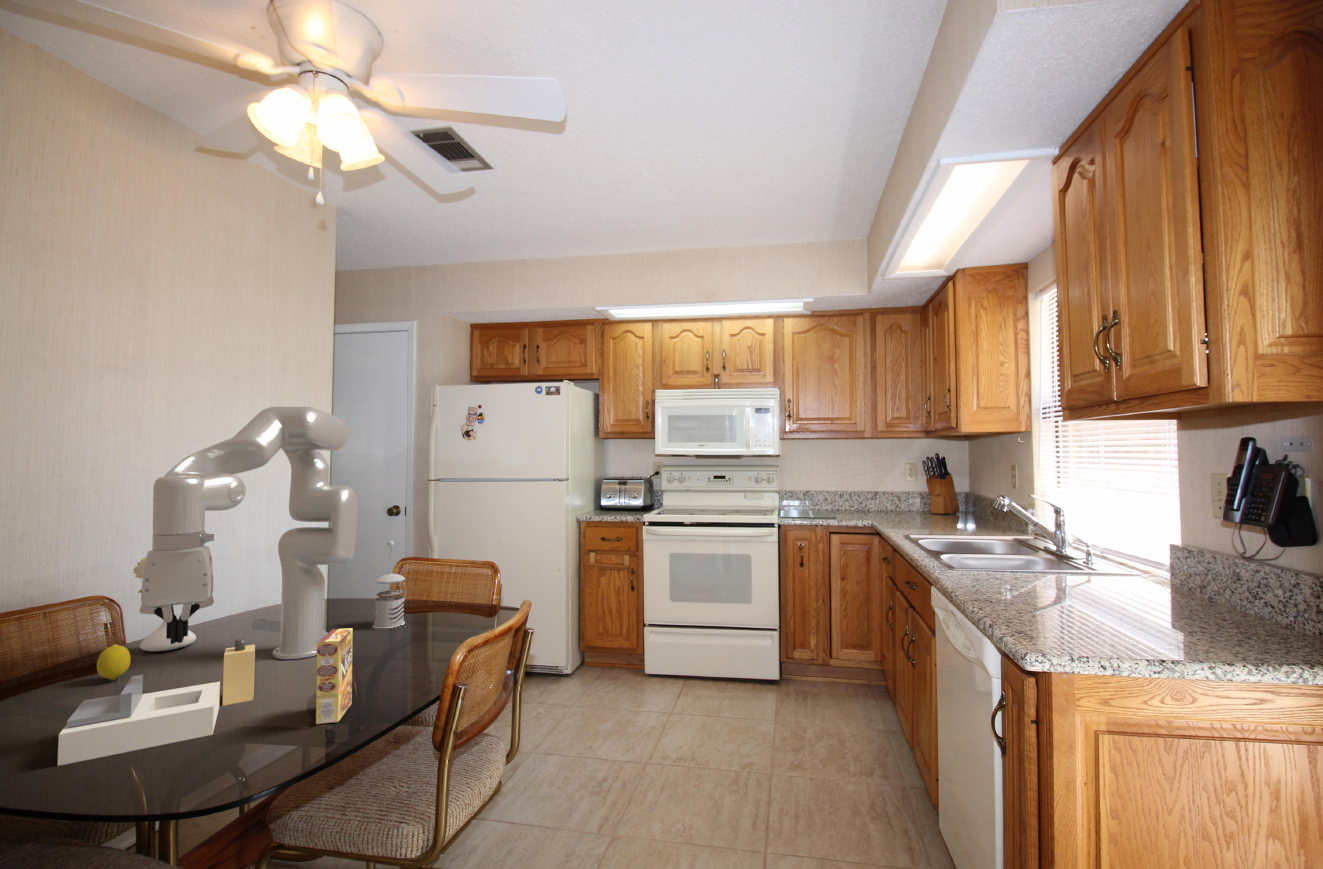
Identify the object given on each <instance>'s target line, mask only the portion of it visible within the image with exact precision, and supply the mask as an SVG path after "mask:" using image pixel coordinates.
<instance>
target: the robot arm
mask: <svg viewBox="0 0 1323 869" xmlns="http://www.w3.org/2000/svg"><path fill="white" fill-rule="evenodd" d="M348 439H349V429H348V426H347V424H346V423H345V422H344V420H343V419H342V418H340V417H338V416H335V415H333V414H331V413H328V412H326V411H324V410H321V409H319V408H315V407H310V406H270V407H267V408H264V409H262V410H261V411H259V413H257V414H256V415H255V416H254V417H253V418H252V419H251V420H249V422H247V423H246V425H245V426H243V428H241V430H239V431H238V432H237V433H236V434H235V435H234V436H232V437H231V438H228V439H226V440H223V441H220V442H218V443H215V444H213V445H210V446H208V447H206V448H203V449H200V450H198V451H196V452H194V453H191V454H190V455H188V456H186V457H185V458H183V459H181V460H180V461H178V463H177V464H175V465H174V466H173V467H172V468H171V469H169V471H168V472H167V473H165V475H164V476H161V477H158V478H157V479H156V480H155V481H154V482H153V483H154V484H153V488H152V489H153V494H152V495H153V496H152V500H153V501H152V544H151V545H152V546H151V547H152V549H151V550H148V552H147V553H146V561H145V565H144V572H143V578H142V580H141V589H142V590H141V589H140V590H141V594H140V602H141V603H140V608H139V610H138V611H139V613H140V614H141V615H143V614H146V615H156V616H157V617H159V618H160V619H162V620H164V621H165V622H166V623H167V630H166V638H167V639H170V638H171V644H174V643H176V641H177V642H178V643H182V641H183V639H184V637H185V636H188V630H189V619H190V618H191V617H192V616H193V615H194V614H195V613H196V612H197V611H198V610H201V609H205V608H208V607H210V606H213V605H214V603H215V600H214V596H213V591H214V572H213V571H214V570H213V569H214V568H213V558H212V552H211V549H210V548H211V547H210V546H206V545H205V544H207V543H209V542H214V540H215V539H214V538H215V534H214V533H208V532H206V528H205V523H206V519H205V518H206V516H205V515H206V511H209V512H210V511H212V512H213V511H218V512H219V511H221V512H222V511H228V510H232V509H234V508H235V507H237V506H238V505H240V504H241V503H242V502H243V500H244V498H246V497H245V496H246V491H247V489H246V485H245V483H244V481H243V479H242V478H240V477H239V476H237V474H242V473H246V472H249V471H252V470H255V469H258V468H261V467H263V466H266V464H268V463H269V462H270V461H271V459H273V457H274V456H275V455H276V454H277V453H278V452H279V450H280V449H282V451H283V452H284V454H285V456H286V457H287V459H288V462H289V465H290V469H291V470H290V471H291V472H290V487H289V501H288V513H289V516H290V517H291V519H292V520H294V521H298V522H303V523H305V522H306V523H331V527H328V526H327V527H320V526H316V527H315V526H314V527H313V526H309V527H308V526H307V527H303V526H302V527H295V528H292V529H289V530H287V531H286V532H284V533H283V534H282V535H281V536H280V538H279V540H278V544H277V551H278V557H279V563H280V568H281V602H280V603H281V604H280V607H281V608H280V610H281V611H280V612H281V613H280V641H279V642H280V643H279V644H280V645H279V646H278V647H276V648H274V650H273V651H272V657H273V658H275V659H278V660H299V659H305V658H311V657H314V656H317V642H319V641H320V640H321V639H322V638H323V637H325V636H326V635H327V634H328V633H329V632H328V631H326V629H325V602H326V598H325V597H326V595H325V594H326V579H325V576H324V574H323V572H322V571H321V569H320V567H319V566H325V565H329V566H330V565H333V566H335V565H336V566H337V565H343V564H346V563H348V562H350V560H352V558H353V557H354V553H355V550H356V541H357V525H358V513H359V503H358V502H359V501H358V497H357V494H356V492H355V490H354V489H353V488H352V487H350V486H348V485H340V484H337V485H335V484H333V485H332V484H331V485H330V484H329V479H330V478H329V475H330V466H329V463H328V462H327V461H328V460H327V459H326V458H325V457H324V455H323V454H322V452H321V451H325V452H327V451H330V452H332V451H337V450H338V451H339V450H341V449H342V448H343V447H344V446H345V445H346V444H347V443H348V442H347V441H348ZM173 605H176V606H178V605H182V609H181V614H180V615H179V617H178V618H177V615H176V612H175V613H174V608H173Z"/></svg>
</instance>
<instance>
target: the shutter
mask: <svg viewBox="0 0 1323 869" xmlns="http://www.w3.org/2000/svg"><path fill="white" fill-rule="evenodd" d="M143 680H144V674H138V675H133V676H131V677H130V679H129V680H128V682H127V683H126V684H125V686H124V688H123V689H122V691H121V692H120V694H115V695H110V696H105V697H104V696H103V697H97V698H91V699H90V698H89V699H84V700H83V701H82V702H81V703H80V704H79V705H78V707H77V709H75V710H74V712H73V713H72V714H71V716H70V717H69V718H68V719H67V721H66V725H67V728H68V727H73V726H79V725H84V724H90V723H96V722H101V721H107V720H113V719H118V718H124V717H129V716H131V715H132V714H133V712H134V710H135V708H136V706H137V705H138V703H139V701H140V699H141V698H142V694H143V688H144V687H143V685H144V684H143V683H144V682H143Z"/></svg>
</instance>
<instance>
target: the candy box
mask: <svg viewBox="0 0 1323 869" xmlns="http://www.w3.org/2000/svg"><path fill="white" fill-rule="evenodd" d="M353 631H354V630H353V627H352V628H351V627H350V628H349V627H348V628H335V629H334V628H333V629H331V630H330V631H329V632H328V634H327V635H326V636H325V637H323V638H322V639H321V640H320V641H319V642H317V655H316V688H315V689H316V694H315V695H316V702H315V703H316V704H315V705H316V706H315V707H316V708H315V724H316V725H320V724H329V723H330V724H332V723H338V722H339V721H340V720H341V719H342V717H343V716H344V715H345V714H346V712H347V711H348V709H349V708H350V707H351V705H352V702H353V701H352V700H353V691H352V690H353V687H352V686H353V634H354V632H353Z"/></svg>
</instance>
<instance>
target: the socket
mask: <svg viewBox="0 0 1323 869" xmlns="http://www.w3.org/2000/svg"><path fill="white" fill-rule="evenodd" d="M220 691H221V681H215V682H210V683H203V684H197V685H196V684H195V685H190V686H185V687H179V688H173V689H166V690H160V691H155V692H154V691H153V692H148V693H142V698H141V699H140V701H139V703H138V705H137V706H136V708H135V710H134V712H133V714H132V715H131V716H129V717H124V718H118V719H113V720H107V721H101V722H96V723H90V724H84V725H79V726H73V727H68V728H67V724H66V725H65V726H64V727H63V728H62V730H61V731H60V733H58V745H57V746H58V748H57V767H59V766H60V767H61V766H64V765H69V764H74V763H79V762H83V761H89V760H95V759H98V758H104V757H109V756H114V755H119V754H124V753H128V752H129V753H130V752H134V751H139V750H144V749H147V748H153V747H154V748H155V747H158V746H163V745H167V744H169V745H170V744H172V743H177V742H183V741H188V740H193V739H197V738H198V739H199V738H203V737H207V736H213V734H214V730H215V726H216V722H217V719H218V714H219V710H220V698H221V697H220V695H221V694H220V693H221V692H220Z"/></svg>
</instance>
